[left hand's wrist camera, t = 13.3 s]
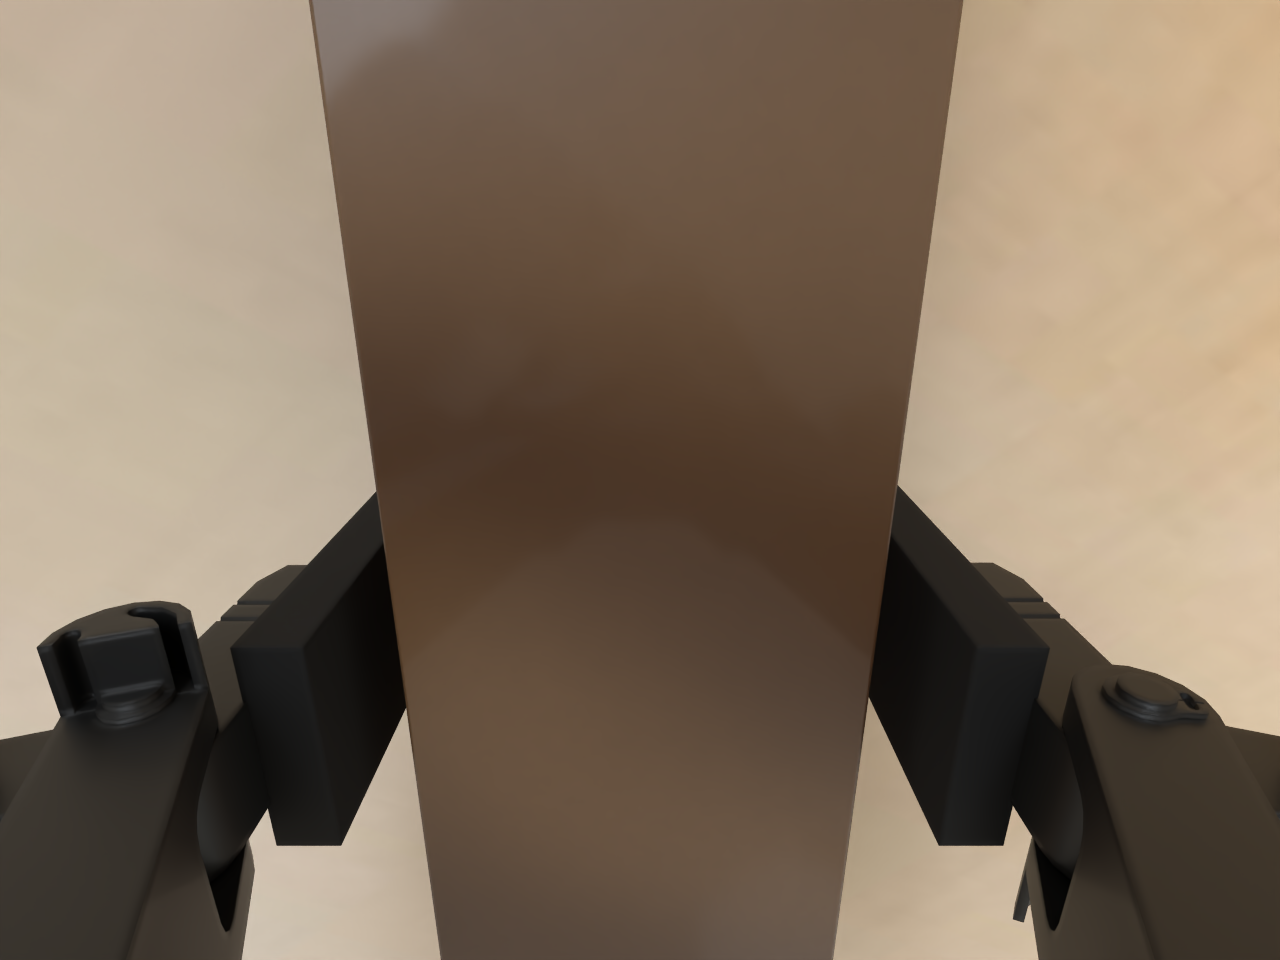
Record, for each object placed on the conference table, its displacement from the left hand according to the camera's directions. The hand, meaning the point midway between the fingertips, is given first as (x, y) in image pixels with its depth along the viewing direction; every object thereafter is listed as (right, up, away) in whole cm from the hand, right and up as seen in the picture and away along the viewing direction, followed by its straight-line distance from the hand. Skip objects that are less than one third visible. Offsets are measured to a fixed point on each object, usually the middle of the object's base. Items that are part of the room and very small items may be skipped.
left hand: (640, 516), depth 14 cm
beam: (0, +25, -7) cm, 26 cm away
